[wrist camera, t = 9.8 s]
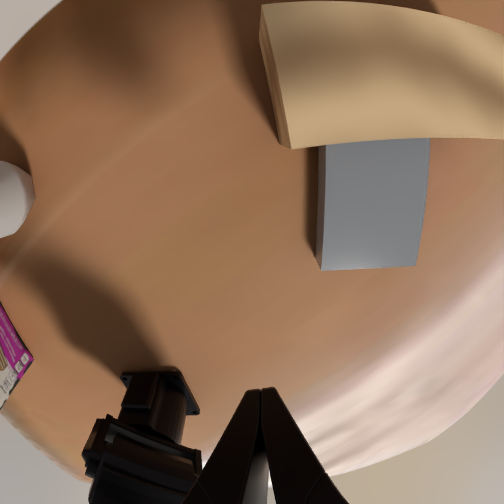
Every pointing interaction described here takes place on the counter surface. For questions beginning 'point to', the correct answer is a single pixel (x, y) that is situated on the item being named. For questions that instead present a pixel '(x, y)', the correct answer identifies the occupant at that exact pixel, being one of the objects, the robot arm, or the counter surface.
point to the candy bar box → (11, 357)
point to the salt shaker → (14, 197)
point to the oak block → (379, 74)
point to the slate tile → (371, 203)
